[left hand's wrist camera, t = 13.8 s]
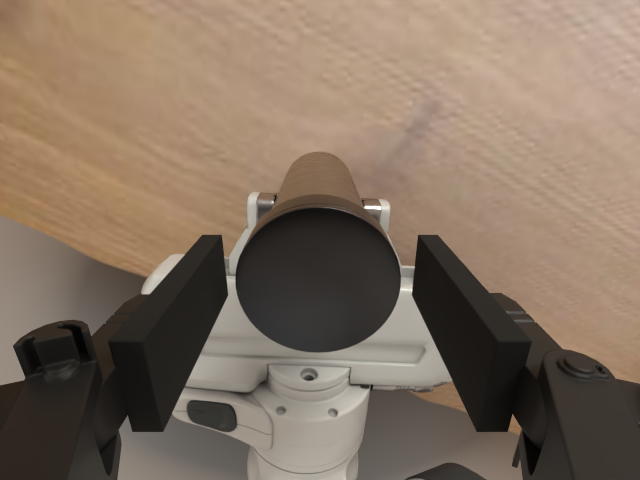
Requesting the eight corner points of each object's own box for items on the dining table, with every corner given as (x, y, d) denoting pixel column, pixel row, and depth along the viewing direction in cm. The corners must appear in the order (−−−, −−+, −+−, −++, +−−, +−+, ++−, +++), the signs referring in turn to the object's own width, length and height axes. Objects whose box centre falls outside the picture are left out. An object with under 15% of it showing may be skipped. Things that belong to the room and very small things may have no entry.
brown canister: (335, 227, 27) (352, 354, 14) (275, 203, 27) (230, 312, 13) (363, 168, 26) (413, 246, 12) (299, 140, 25) (276, 190, 11)
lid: (353, 344, 15) (357, 371, 14) (225, 299, 14) (214, 323, 13) (418, 229, 13) (432, 246, 12) (274, 168, 12) (268, 178, 11)
